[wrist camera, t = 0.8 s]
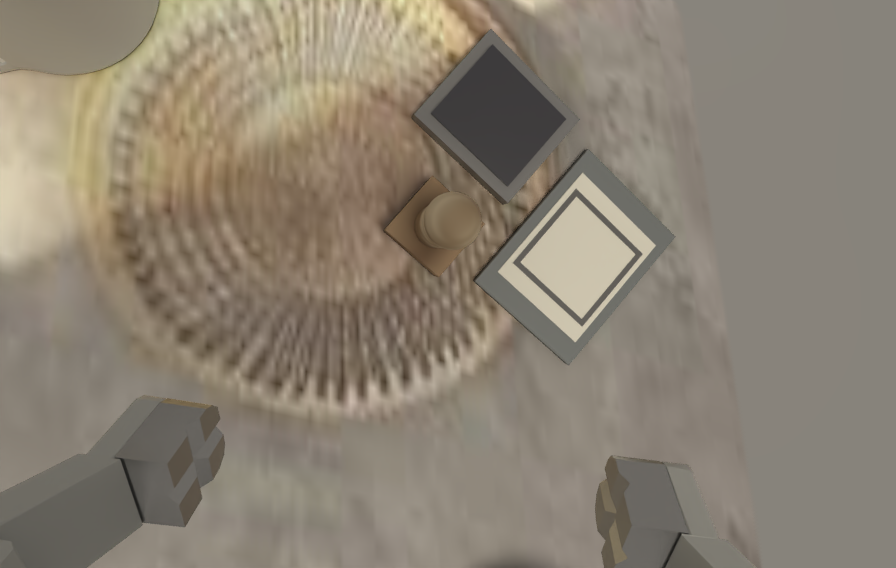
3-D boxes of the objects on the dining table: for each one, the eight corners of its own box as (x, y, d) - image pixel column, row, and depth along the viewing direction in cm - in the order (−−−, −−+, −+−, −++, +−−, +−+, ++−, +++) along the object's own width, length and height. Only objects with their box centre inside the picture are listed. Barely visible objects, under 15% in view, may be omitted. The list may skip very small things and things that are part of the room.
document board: (473, 280, 47) (475, 281, 46) (584, 150, 48) (589, 148, 47) (565, 363, 49) (569, 365, 48) (670, 237, 50) (676, 236, 49)
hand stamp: (383, 230, 45) (393, 222, 33) (427, 180, 46) (454, 153, 33) (434, 275, 46) (462, 284, 34) (477, 225, 47) (520, 216, 35)
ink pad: (412, 119, 45) (414, 113, 43) (486, 36, 46) (491, 27, 44) (502, 204, 47) (508, 202, 45) (572, 123, 48) (581, 118, 46)
